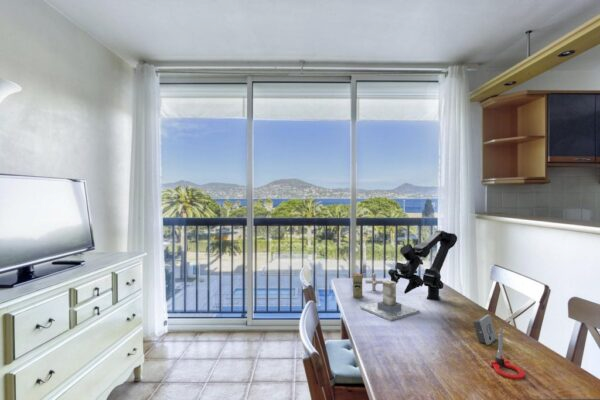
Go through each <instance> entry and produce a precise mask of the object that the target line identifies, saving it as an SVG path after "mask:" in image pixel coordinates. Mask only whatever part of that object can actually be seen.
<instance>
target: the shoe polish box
mask: <svg viewBox="0 0 600 400" xmlns="http://www.w3.org/2000/svg"><path fill="white" fill-rule="evenodd" d="M352 274H353V275H352V296H353V297H352V298H359V299H362V298H363V274H362V273H352Z"/></svg>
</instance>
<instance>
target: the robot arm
mask: <svg viewBox="0 0 600 400" xmlns="http://www.w3.org/2000/svg"><path fill="white" fill-rule="evenodd" d="M457 241H458V236H457V235H456V234H455V233H451V232H446V231H444V230H437V229H436V230H435V231H434V232H433V234H431V235H429V236H428V237H427V239H426V240H424V241H423V242H420V243H418V244H416V245H414V246H412V244H410V243H407V244H406V245H403V246H402V247H400V249H399V252H400V255H402V257H403V258H404V259H405V261H407V262H405V263H403V262H398V261H396V264H395V267H394V269H392V268H390V269H388V270H389V271H388V272H387V273H388V275H389V277H390V281H393V282H396V285H397V284H398V283H399V280H400V279H403V280H404V279H405V280H408V284H407V286H406V288H405V289H404V290H403V291H404V292H403V293H404V294H405V295H406V294H409V292H411V291H413V290H415V289H416V288H420V287H423V286H424V287H427V296H426V299H427V300H434V301H440V299H441V296H440V290H442V289H444V284H445V283H443V281H442V280H441V278H442V275H441V270H442V267H443V265H444V263H445V261H446V258H447V256H448V253H449V251H450V250H451V249H452V248H453V247H455V245H456V243H457ZM438 243H439V245H440V246H439V247H438V251H437V252H436V255H435V257H434V259H433V262H432V264H431V267H430V268H426V269H425V271H424V273H423V274H422V275H423V276H422V277H421V276H420V275H418V274H417V273H418V271H417V269H418V268H419V267H420V265H421V266H423V265H424V262H423V259H421V258H424V259H425V258H427V257H428V256H429V255H430V254H431V250H432V248H434V247H435V246H436V245H437V244H438ZM396 269H397V270H396Z"/></svg>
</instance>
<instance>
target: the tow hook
mask: <svg viewBox="0 0 600 400" xmlns="http://www.w3.org/2000/svg"><path fill="white" fill-rule="evenodd" d="M503 337H504V335H503V328H502V327H499V330H498V341H497V342H498V343H497V350H496V351H497V352H496V356H495V359H494V360H495V361H489V362H488V364H489V366H490V367H492V368H493V370H494V372H495V373H497V374H498V375H499V374H500V375H499V376H501V375H502V376H501V377H503V376H504V378H506V379H509V378H510V380H516V379H519V380H523V379H524V378H525V377H526V376H525V375H526V373H525V371H524V370H523V369H522V368H520V367H518V366H517V365H514V364H512V363H511V362H510V361H509V360H505V359H504V358H503V353H504V352H503V340H504V339H503ZM501 367H506V368H508V369H512V370H514V371H516V372H517V373H518V374H510V373H507V372H504V371H503V370H501V369H500V368H501ZM522 378H523V379H522Z"/></svg>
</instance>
